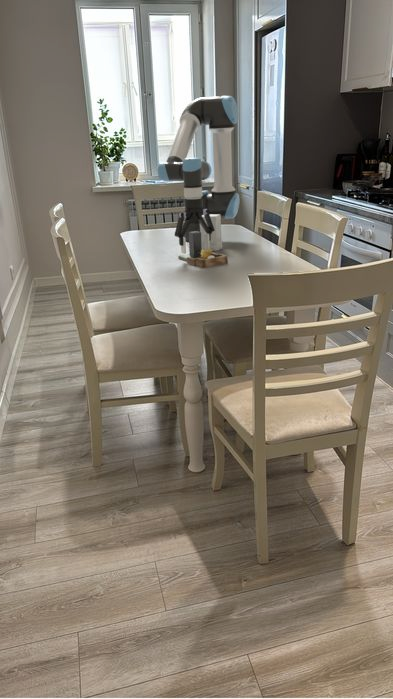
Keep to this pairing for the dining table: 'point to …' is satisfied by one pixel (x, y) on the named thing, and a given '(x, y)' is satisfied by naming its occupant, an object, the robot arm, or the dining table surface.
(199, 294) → the dining table surface
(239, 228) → the dining table surface
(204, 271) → the dining table surface
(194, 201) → the robot arm
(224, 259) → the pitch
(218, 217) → the skincare box
